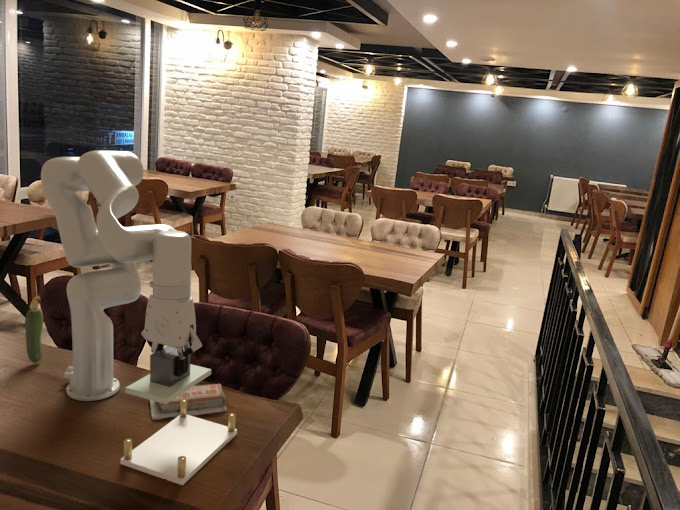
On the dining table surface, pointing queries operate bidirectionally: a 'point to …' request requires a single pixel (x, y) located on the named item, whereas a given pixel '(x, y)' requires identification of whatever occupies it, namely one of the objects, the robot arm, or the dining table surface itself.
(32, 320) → the vegetable
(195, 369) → the board
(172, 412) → the packaged product
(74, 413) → the dining table surface
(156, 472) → the chassis
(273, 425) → the dining table surface
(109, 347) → the robot arm
